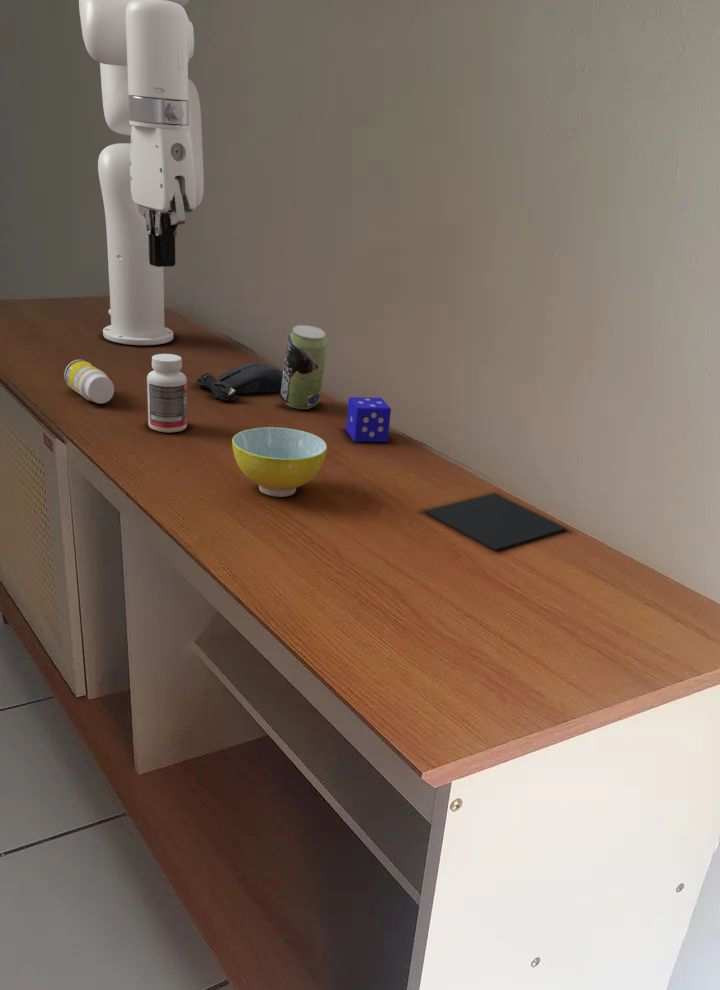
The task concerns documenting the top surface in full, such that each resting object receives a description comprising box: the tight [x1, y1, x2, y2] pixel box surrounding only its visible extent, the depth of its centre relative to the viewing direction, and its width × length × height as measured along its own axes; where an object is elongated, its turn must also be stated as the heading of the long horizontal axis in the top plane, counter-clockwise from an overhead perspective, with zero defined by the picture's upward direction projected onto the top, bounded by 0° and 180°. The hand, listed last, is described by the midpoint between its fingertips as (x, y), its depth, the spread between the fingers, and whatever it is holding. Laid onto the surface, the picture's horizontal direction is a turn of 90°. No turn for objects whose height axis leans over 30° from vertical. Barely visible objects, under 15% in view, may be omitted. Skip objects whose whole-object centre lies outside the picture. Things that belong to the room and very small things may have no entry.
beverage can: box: [279, 324, 329, 410], centre depth 142 cm, size 6×7×12 cm
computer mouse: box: [194, 362, 283, 402], centre depth 149 cm, size 10×15×4 cm
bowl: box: [231, 426, 328, 498], centre depth 114 cm, size 11×12×6 cm
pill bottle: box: [146, 353, 188, 434], centre depth 129 cm, size 5×5×10 cm
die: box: [345, 396, 392, 443], centre depth 135 cm, size 5×5×5 cm
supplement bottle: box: [64, 359, 115, 405], centre depth 139 cm, size 5×5×8 cm
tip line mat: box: [424, 493, 566, 552], centre depth 113 cm, size 12×12×1 cm
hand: (162, 265), depth 130 cm, fingers closed
